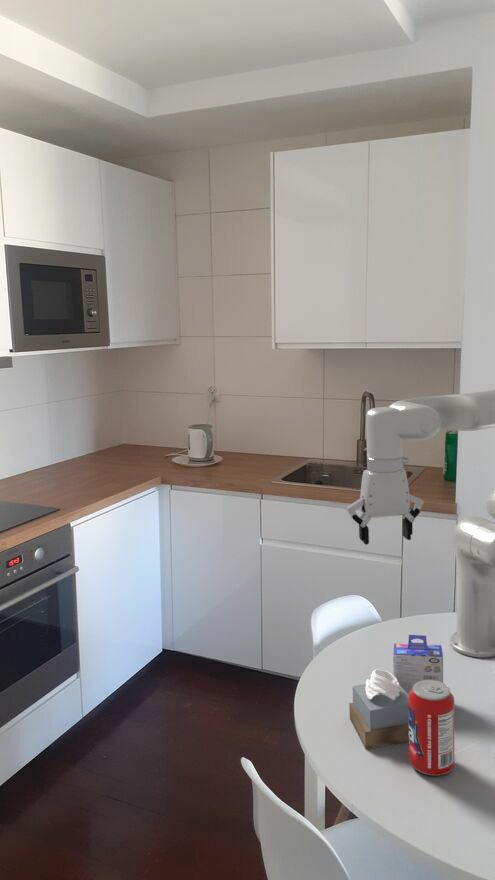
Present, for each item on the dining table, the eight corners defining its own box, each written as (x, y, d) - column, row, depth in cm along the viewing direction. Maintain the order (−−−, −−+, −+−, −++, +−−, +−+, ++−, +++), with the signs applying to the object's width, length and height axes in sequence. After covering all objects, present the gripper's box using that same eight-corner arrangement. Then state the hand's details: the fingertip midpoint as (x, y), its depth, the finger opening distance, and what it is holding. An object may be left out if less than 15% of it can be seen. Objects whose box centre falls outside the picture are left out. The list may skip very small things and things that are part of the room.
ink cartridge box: (442, 698, 146) (442, 633, 143) (444, 713, 141) (444, 646, 138) (394, 695, 148) (393, 631, 145) (394, 709, 143) (393, 644, 140)
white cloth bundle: (362, 688, 139) (358, 664, 139) (395, 682, 139) (392, 659, 139) (370, 707, 131) (367, 683, 131) (405, 701, 131) (402, 677, 131)
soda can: (448, 784, 120) (448, 704, 117) (403, 772, 124) (402, 694, 121) (458, 758, 126) (459, 682, 124) (415, 747, 130) (415, 673, 128)
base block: (397, 714, 142) (397, 696, 141) (416, 744, 132) (416, 724, 131) (349, 721, 140) (349, 703, 140) (365, 751, 131) (365, 732, 130)
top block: (395, 697, 141) (394, 679, 140) (414, 722, 132) (414, 702, 131) (353, 704, 139) (352, 686, 138) (370, 730, 130) (369, 710, 130)
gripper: (415, 457, 156) (416, 531, 159) (341, 464, 153) (343, 539, 156) (429, 464, 149) (430, 541, 152) (351, 472, 146) (353, 550, 149)
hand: (386, 540), depth 154 cm, fingers open, 9 cm apart
